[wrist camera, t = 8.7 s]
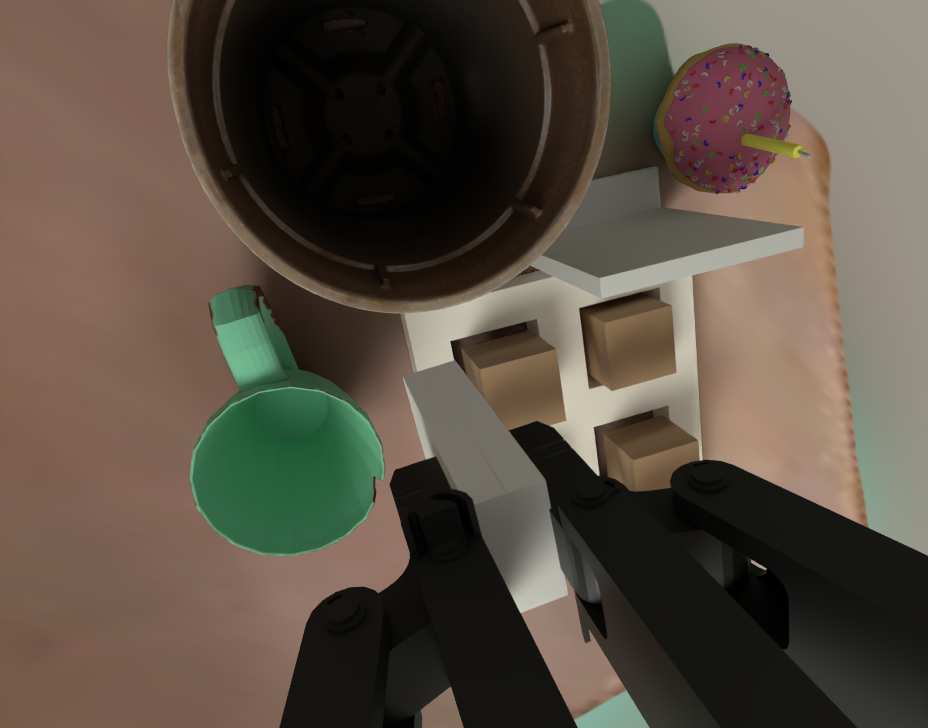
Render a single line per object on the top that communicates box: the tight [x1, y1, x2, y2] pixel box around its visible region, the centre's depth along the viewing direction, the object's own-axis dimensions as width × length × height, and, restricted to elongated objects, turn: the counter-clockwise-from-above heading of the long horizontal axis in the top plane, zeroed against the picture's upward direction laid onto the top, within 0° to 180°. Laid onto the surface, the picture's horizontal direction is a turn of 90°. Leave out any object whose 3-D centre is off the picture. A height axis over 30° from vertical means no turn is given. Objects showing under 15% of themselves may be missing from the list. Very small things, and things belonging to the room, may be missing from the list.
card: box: [530, 167, 804, 299], centre depth 37 cm, size 4×11×14 cm, turn 101°
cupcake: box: [653, 44, 811, 194], centre depth 37 cm, size 9×8×12 cm
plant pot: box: [167, 0, 611, 313], centre depth 30 cm, size 16×16×16 cm
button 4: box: [579, 293, 677, 391], centre depth 44 cm, size 5×5×4 cm
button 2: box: [461, 330, 566, 430], centre depth 40 cm, size 5×5×4 cm
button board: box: [400, 270, 702, 477], centre depth 46 cm, size 20×20×2 cm
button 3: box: [603, 415, 700, 491], centre depth 45 cm, size 5×5×4 cm
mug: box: [189, 285, 385, 556], centre depth 37 cm, size 15×10×10 cm
